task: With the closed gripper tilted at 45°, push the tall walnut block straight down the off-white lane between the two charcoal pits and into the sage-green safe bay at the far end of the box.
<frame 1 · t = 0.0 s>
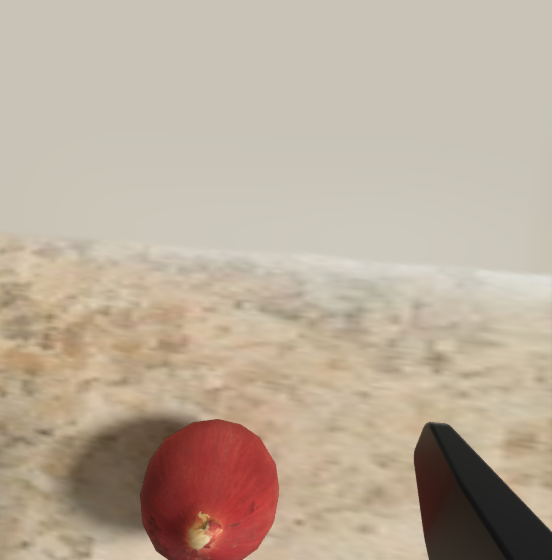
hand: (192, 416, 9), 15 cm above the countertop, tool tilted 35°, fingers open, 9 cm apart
onion: (217, 458, 24), on the countertop
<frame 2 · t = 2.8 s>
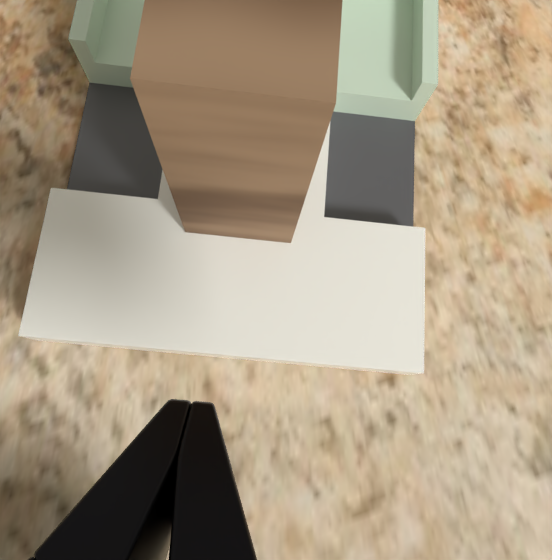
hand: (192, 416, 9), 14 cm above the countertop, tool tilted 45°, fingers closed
walnut block: (243, 189, 23), point 2 cm above the countertop, touching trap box
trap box: (251, 137, 25), on the countertop
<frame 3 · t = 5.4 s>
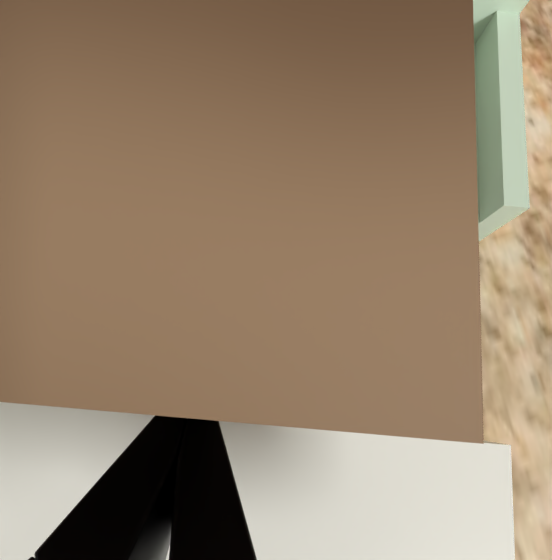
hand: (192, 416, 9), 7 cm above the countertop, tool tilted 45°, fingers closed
walnut block: (220, 315, 14), point 2 cm above the countertop
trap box: (230, 270, 17), on the countertop
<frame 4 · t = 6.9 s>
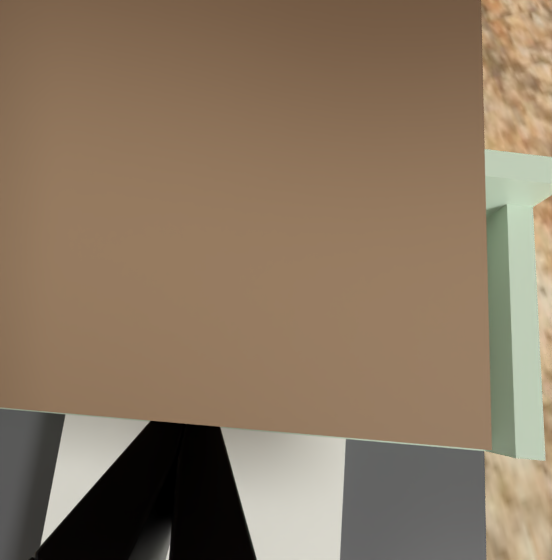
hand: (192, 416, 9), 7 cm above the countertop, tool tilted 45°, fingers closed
walnut block: (220, 313, 14), point 2 cm above the countertop, touching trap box
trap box: (204, 488, 15), on the countertop
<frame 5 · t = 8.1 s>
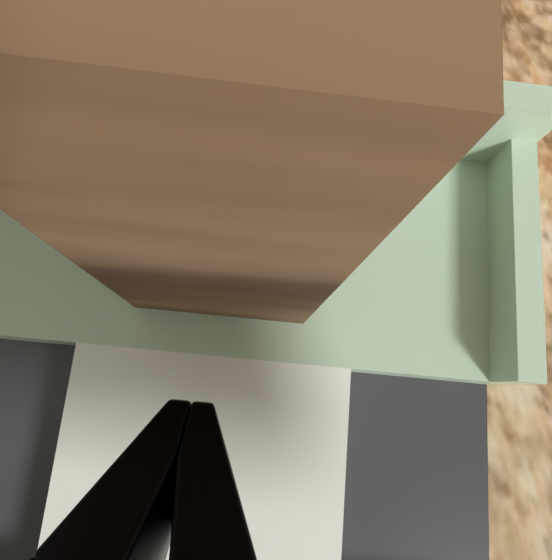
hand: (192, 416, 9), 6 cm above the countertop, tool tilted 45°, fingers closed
walnut block: (229, 235, 14), point 2 cm above the countertop, touching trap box
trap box: (211, 422, 15), on the countertop
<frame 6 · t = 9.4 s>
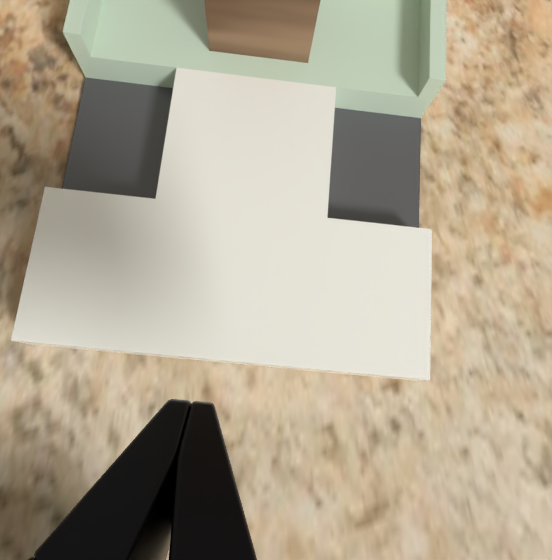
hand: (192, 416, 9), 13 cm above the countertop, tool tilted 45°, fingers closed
walnut block: (263, 15, 24), point 2 cm above the countertop, touching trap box
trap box: (252, 134, 25), on the countertop
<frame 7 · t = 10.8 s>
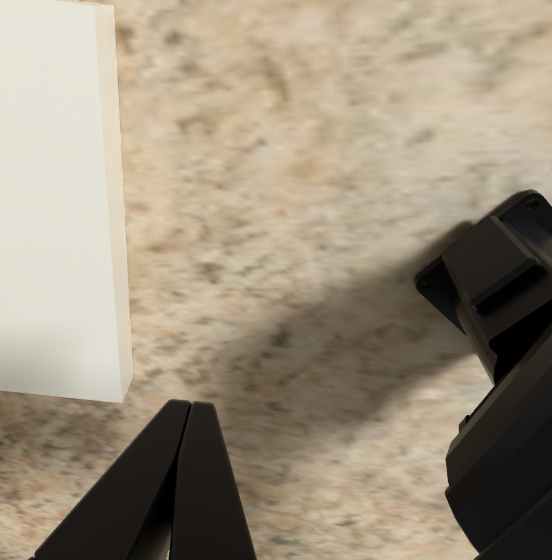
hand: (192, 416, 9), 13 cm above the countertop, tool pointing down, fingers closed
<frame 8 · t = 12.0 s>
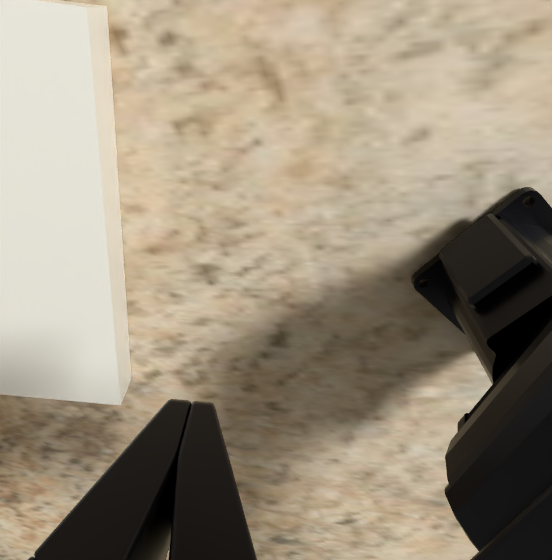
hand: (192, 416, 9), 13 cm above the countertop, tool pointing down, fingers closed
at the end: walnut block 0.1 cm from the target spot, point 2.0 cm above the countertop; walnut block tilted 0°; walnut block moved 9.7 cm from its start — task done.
